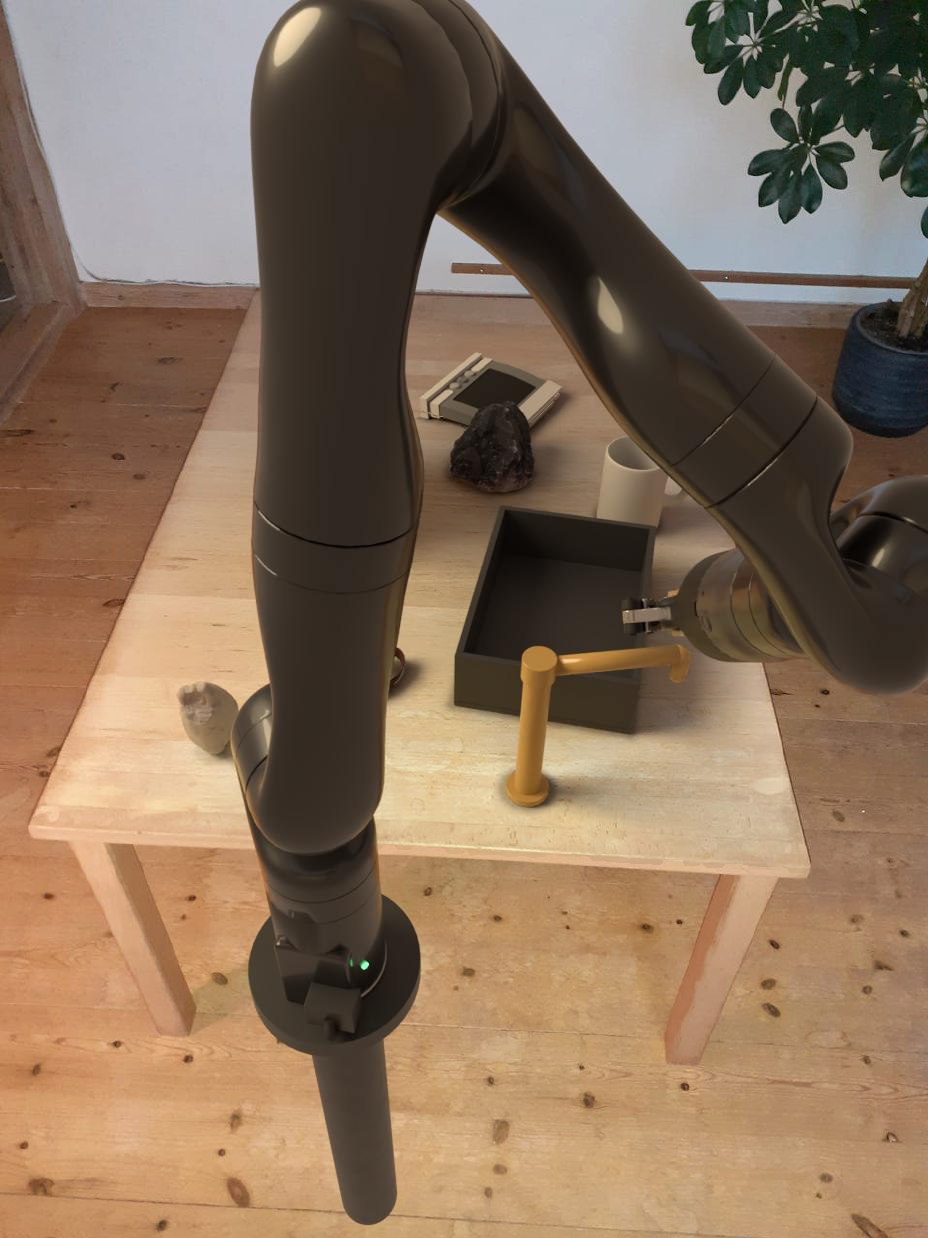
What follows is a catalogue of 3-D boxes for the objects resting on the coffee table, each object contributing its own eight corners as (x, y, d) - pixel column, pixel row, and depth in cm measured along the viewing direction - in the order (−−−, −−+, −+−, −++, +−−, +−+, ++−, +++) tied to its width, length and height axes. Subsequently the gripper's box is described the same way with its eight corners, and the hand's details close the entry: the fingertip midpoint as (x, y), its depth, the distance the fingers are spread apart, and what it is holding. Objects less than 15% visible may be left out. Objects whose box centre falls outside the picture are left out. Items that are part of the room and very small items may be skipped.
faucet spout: (522, 708, 90) (525, 672, 86) (516, 683, 92) (519, 647, 89) (689, 691, 92) (699, 656, 88) (679, 667, 94) (688, 631, 91)
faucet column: (545, 810, 99) (558, 699, 88) (502, 802, 100) (510, 691, 88) (551, 776, 102) (564, 665, 91) (509, 769, 103) (518, 657, 92)
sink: (630, 734, 107) (640, 685, 101) (453, 705, 109) (454, 656, 104) (647, 574, 126) (656, 525, 121) (497, 552, 129) (500, 504, 124)
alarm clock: (475, 352, 162) (564, 371, 155) (476, 377, 165) (564, 397, 158) (419, 397, 151) (512, 420, 144) (422, 424, 154) (513, 448, 147)
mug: (600, 539, 131) (609, 471, 124) (592, 501, 138) (601, 434, 130) (689, 539, 132) (704, 471, 124) (677, 502, 138) (691, 434, 130)
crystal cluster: (477, 511, 137) (488, 452, 130) (426, 458, 144) (433, 399, 137) (552, 487, 143) (566, 430, 136) (500, 437, 150) (510, 380, 143)
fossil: (242, 727, 106) (228, 663, 100) (248, 751, 104) (235, 686, 97) (188, 742, 105) (170, 677, 98) (193, 766, 102) (176, 701, 96)
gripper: (851, 536, 63) (744, 562, 80) (646, 553, 62) (582, 575, 79) (863, 652, 63) (753, 653, 80) (658, 672, 61) (590, 669, 79)
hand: (668, 615), depth 79 cm, fingers closed
